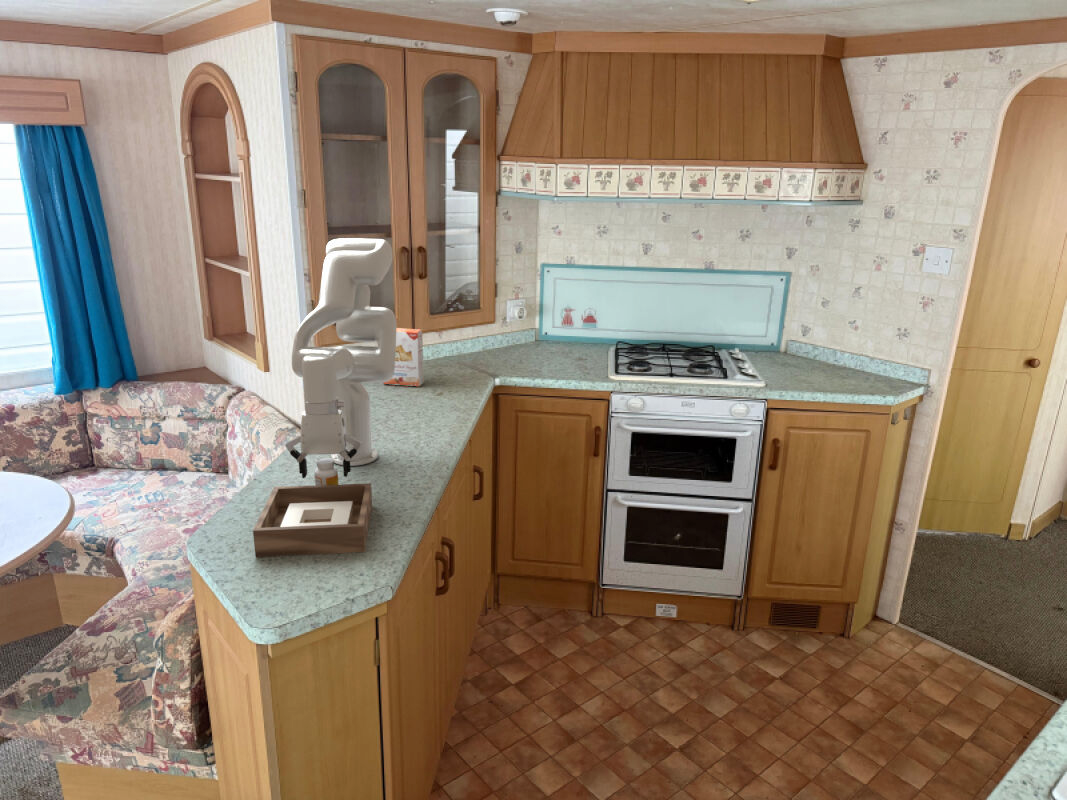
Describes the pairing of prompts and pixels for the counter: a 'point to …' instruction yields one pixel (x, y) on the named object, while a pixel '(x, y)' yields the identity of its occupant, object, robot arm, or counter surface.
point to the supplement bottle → (326, 472)
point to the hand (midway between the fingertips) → (325, 475)
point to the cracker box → (408, 358)
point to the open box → (317, 537)
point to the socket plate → (318, 513)
